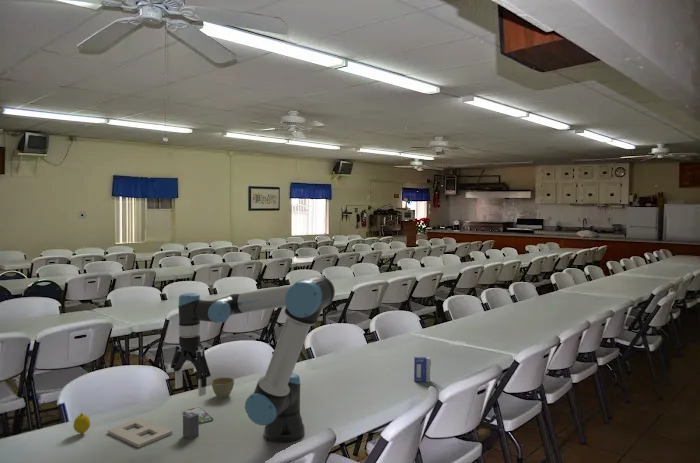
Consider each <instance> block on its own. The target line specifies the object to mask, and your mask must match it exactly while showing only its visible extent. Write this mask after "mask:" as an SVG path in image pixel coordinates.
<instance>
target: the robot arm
mask: <svg viewBox="0 0 700 463" xmlns="http://www.w3.org/2000/svg"><path fill="white" fill-rule="evenodd" d="M335 294H336V291H335V286H334V284H333V282H332V281H331V280H330V279H329V278H328V277H325V276H322V275H314V276H311V277H309V278H307V279H306V278H305V279H301V280H298V281H296V282H294V283H293V284H290V285H285V286H278V287H272V288H266V289H265V288H264V289H259V290H254V291H248V292H242V293H232V294H229V295H226V296H224V297H221V298H216V299H213V300H204V299H201V297H200V294H199V293H195V292H186V293H182V294H180V295H179V297H178V305H177V307H178V335H179V337H178V345H176V346H175V351H174V354H173V358H172V360H171V363H170V369H172V370H173V371H174V386H175V389H180V388H182V387H183V386H184V385H183V366H184V364H185V363H186V361H188V362H190V363H191V364H193V366H194V369H195V371H196V373H197V375H198V376H199V377H198V379H197V380H198V382H197V383H198V386H197V387H198V390H197V391H198V397H202V396H205V395H206V394H207V390H206V389H207V378H209V377H211V376H212V375H211V371H210V369H209V365H208V363H207V360H206V359H207V358H206V356H205V354H206V353H205V350H204V349H202V350H199V347H200V345H201V335H200V333H201V322H208V323H209V322H210V323H217V324H218V323H226V322H227V321H228V319H229V318H230V316H234V315H239V314H244V313H251V312H257V311H258V312H259V311H266V310H270V309H278V308H284V309H285V310H284V314H285V316H286V318H285V322H284V324H283V327H282V330H281V332H280V335H279V338H278V341H277V343H276V345H275V348H274V350H273V353H272V356H271V359H270V361H269V364H268V367H267V369H266V371H265V374H264V376H262V377H259V379H258V381H257V384H256V386H255V388H254V391H253V393H251V394H250V395H249V396H248V397H247V398H246V400H245V404H244V409H245V413H246V414H247V416H248V419H249V420H250V421H252V423H254V424H256V425H258V426H264V429H263V430H264V431H263V434H264V437H265V439H267V440H269V441H271V442H275V443H291V442H294V441H297V440H299V439H301V438H303V436H304V435H305V424H304V423H303V419H302V415H301V385H302V384H301V378H300V376H299V374H297V373H295V372H294V370H295V367H296V364H297V362H298V359H299V356H300V353H301V352H302V349H303V346H304V343H305V341H306V338H307V336H308V333H309V330H310V329H311V326H314V325H316V324H317V322H318V320H319V319H320V318H319V317H320V314H321V312H322V310H323V309H325V308H326V307H328V306H329V305H331V303H332V302H333V301H334V299H335V298H334V297H335Z"/></svg>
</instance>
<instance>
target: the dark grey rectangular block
mask: <svg viewBox="0 0 700 463" xmlns="http://www.w3.org/2000/svg"><path fill="white" fill-rule="evenodd" d="M199 425H200V424H199V415H198V414H196V413H193V412H190V413H188V414H185V415H184V414H183V415H182V437H183V438H186V439H187V440H192V439H194V438H197V437H199V434H200V433H199V432H200V431H199V430H200V428H199Z"/></svg>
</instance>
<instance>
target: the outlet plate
mask: <svg viewBox="0 0 700 463" xmlns="http://www.w3.org/2000/svg"><path fill="white" fill-rule="evenodd" d="M133 427H137V429H135V430H132V431H130V430H129V429H132V428H133ZM148 433H150V434H152V435H149V436H147V437H143V435H145V434H148ZM107 434H109V435H111V436H113V437H115V438H117V439H119V440H121V441H124V442H125V443H127V444H130V445H131V446H134V447H135V448H143V447H144V446H146V445H149V444H151V443H154V442H156V441H159V440H161V439H164V438H166V437H169V436H170V435H173V430H172V429H169V428H168V427H164V426H162V425H159V424H158V423H154V422H152V421H151V420H148V419H145V418H143V417H139V418H137V419H134V420H131V421H128V422H126V423H123V424H120V425H118V426H114V427H112V428H109V429H107Z"/></svg>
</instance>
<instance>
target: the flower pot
mask: <svg viewBox="0 0 700 463" xmlns="http://www.w3.org/2000/svg"><path fill="white" fill-rule="evenodd" d="M210 383H211V387H212V388H211V389H212V390H213V393H214V394H215V397H217V398H218V399H227V398H228V397H229V396H230V395H231V393H232V390H233V388H234V384H235V379H234V378H231V377H226V376H225V377H218V378H214V379H212V380H211V382H210Z"/></svg>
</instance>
